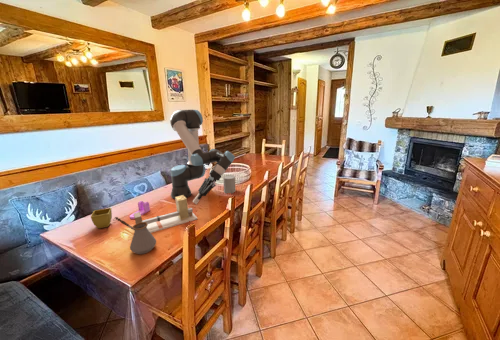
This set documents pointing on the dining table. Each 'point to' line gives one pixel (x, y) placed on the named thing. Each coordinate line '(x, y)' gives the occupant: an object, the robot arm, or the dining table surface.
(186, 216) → the tan rectangular block
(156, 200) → the dining table surface
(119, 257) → the dining table surface
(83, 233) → the dining table surface
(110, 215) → the flower pot
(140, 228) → the coffee pot
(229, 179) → the gray cylinder
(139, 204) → the bracket
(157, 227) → the rod gauge
